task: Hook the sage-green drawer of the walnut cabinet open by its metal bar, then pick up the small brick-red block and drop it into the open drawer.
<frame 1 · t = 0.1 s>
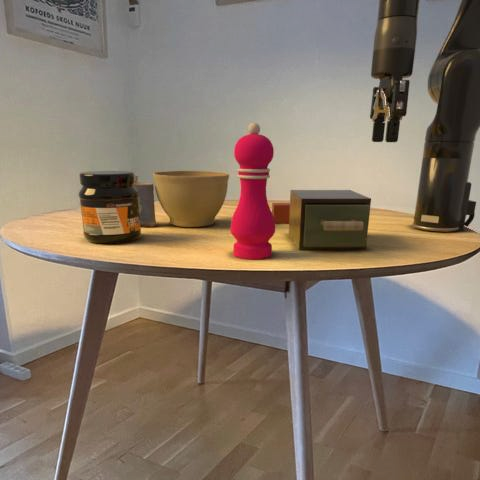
hand: (383, 142, 93), 17 cm above the table, tool pointing down, fingers open, 8 cm apart
pepper mill: (252, 256, 77), on the table
planter bowl: (192, 225, 103), on the table
drawer: (331, 222, 81), point 4 cm above the table, slide at 0.5 cm
supplement container: (113, 240, 88), on the table
block: (281, 221, 107), on the table
cabinet: (324, 241, 87), on the table
flask: (137, 226, 102), on the table
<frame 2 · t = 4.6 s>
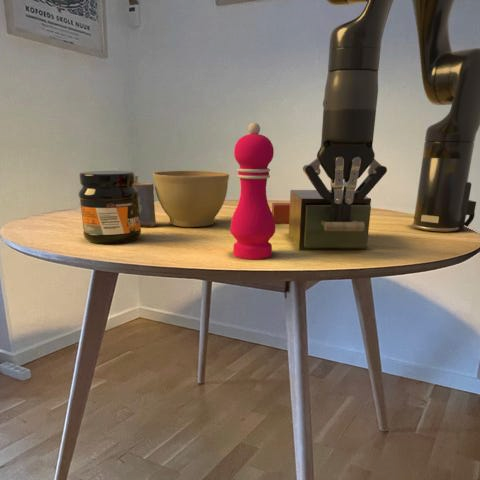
hand: (339, 227, 74), 5 cm above the table, tool pointing down, fingers closed
drawer: (332, 223, 80), point 4 cm above the table, slide at 1.1 cm, touching gripper
everything else where it was.
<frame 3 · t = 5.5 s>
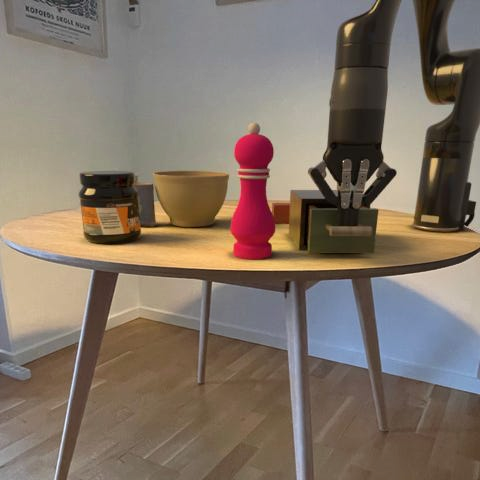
hand: (346, 232, 71), 5 cm above the table, tool pointing down, fingers closed
drawer: (337, 227, 76), point 4 cm above the table, slide at 5.0 cm, touching gripper
everything else where it was.
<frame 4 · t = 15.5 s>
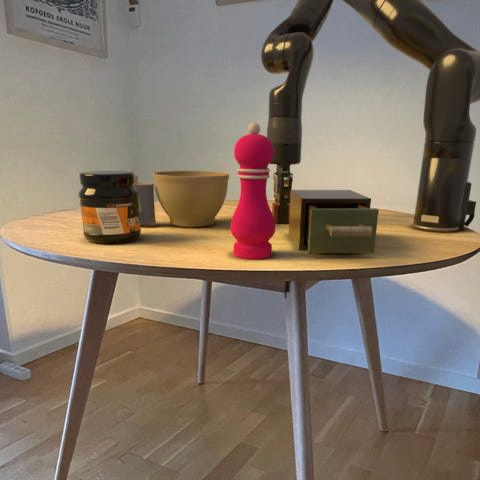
hand: (281, 220, 107), 0 cm above the table, tool pointing down, fingers closed on block, 4 cm apart
drawer: (337, 227, 76), point 4 cm above the table, slide at 5.0 cm
block: (281, 221, 107), on the table, touching gripper
everything else where it was.
when the fingers open (8 cm above the table, at t = 22.6 s): block stays where it is, resting on drawer.
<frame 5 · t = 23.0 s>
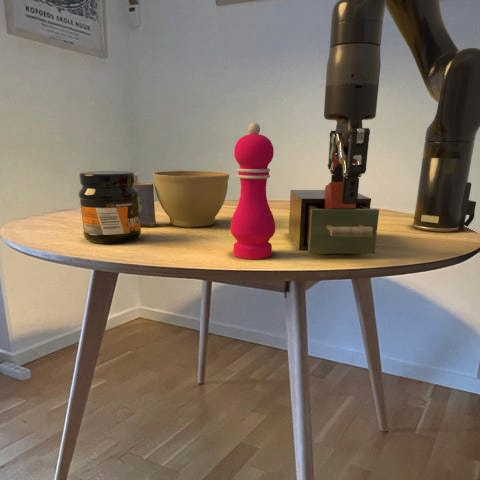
hand: (342, 200, 73), 9 cm above the table, tool pointing down, fingers open, 7 cm apart
drawer: (338, 227, 76), point 4 cm above the table, slide at 5.3 cm, touching block
block: (339, 210, 74), point 7 cm above the table, tilted 15°, touching drawer
everything else where it was.
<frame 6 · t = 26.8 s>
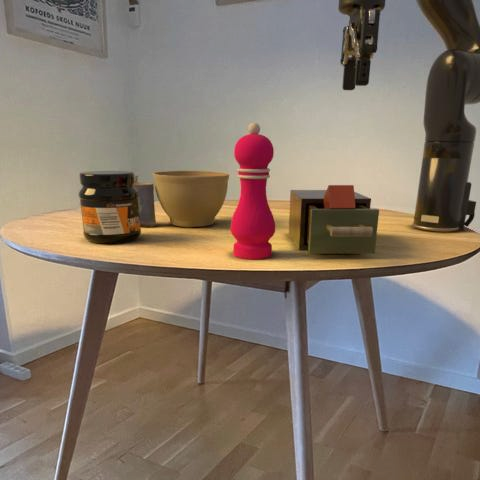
hand: (354, 88, 82), 26 cm above the table, tool pointing down, fingers open, 8 cm apart
block: (339, 214, 74), point 7 cm above the table, tilted 36°, touching cabinet, drawer
everything else where it was.
at the end: drawer slide at 5.3 cm; block inside the target area in the drawer (0.7 cm from its centre), point 6.7 cm above the cabinet's base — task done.
